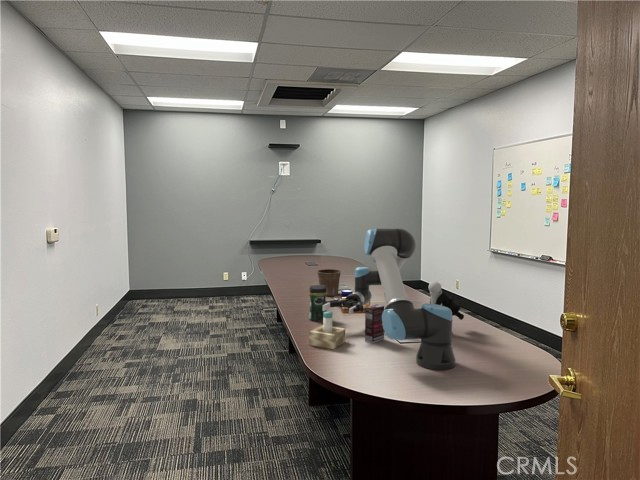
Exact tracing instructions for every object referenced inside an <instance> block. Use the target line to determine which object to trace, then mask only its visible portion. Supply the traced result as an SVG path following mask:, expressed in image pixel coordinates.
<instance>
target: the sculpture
mask: <svg viewBox="0 0 640 480" xmlns="http://www.w3.org/2000/svg"><path fill="white" fill-rule="evenodd" d="M428 291H429V293H430V297H429V304H437V305H441V306H445V307H447V308H449V309H450V310H451V311H452V317H453V316H455V317H457V318H458V319H459V320H462V321H463V319H465V315H464V314H463V313H461V312H460V309H461V305H460V304H459V303H456V302H455V301H454V299H453V297H452V296H448V295H447V293H446V292H445V291H443V290H442V284H441V283H440V282H438V281H431V282H430V283H429V284H428Z"/></svg>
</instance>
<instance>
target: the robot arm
mask: <svg viewBox="0 0 640 480" xmlns="http://www.w3.org/2000/svg"><path fill="white" fill-rule="evenodd" d="M364 238H365V239H364V253H365V255H366V256H370V259H371V260H372V261H373V262H374V263H376V268H377V270H370V268H369V267H368V266H358V267H355V270H354V292H353V293H350V294H348V295H347V296H346V297H345V298H344V299H340V298H337V299H332V300H326V301H325V302H324V305H323V311H325V310H326V311H328V310H329V309H331V308H347V309H348V315H349V316H351V315H353V314H354V313H359V312H361V313H362V312H364V305H366V304H368V303H369V302H370V301H371V299H372V292H371V291H370V286H381V287H382V292H383V294H384V299H385V303H386V305H385V306H384V311H383V313H382V322H383V323H382V325H383V329H384V334H385V335H386V337H387V338H388V339H390V340H392V341H396V340H398V341H403V340H419V339H420V345H419V347H418V350H417V353H416V356H415V362H416V364H417V365H418V366H421V367H422V368H425V369H429V370H436V371H444V370H450V369H451V370H452V369H453V368H455V366H456V357H455V354H454V350H453V346H452V337H453V336H452V335H453V334H452V333H453V316H452V311H451V310H450V309H449V308H447V307H445V306H441V305H442V304H441V305H437V304H430V303H423V304H422V305H421V306H420V308H415V306H414V303H413V302H412V301H411V300H410V299H408V295H407V293H406V289H405V286H404V282H403V279H402V275H401V272H400V270H401V268H402V266H403V265H404V264H405V262H406V261H407V260H408V259H410V258H411V257H412V256H413V255H414V253H415V251H416V248H417V247H416V244H417V243H416V240H415V237H414V236H413V234H411V233H410V231H408V230H406V229H403V228H378V227H377V228H370V229H368V230H367V231H366V234H365V237H364Z"/></svg>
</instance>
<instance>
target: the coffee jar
mask: <svg viewBox="0 0 640 480" xmlns="http://www.w3.org/2000/svg"><path fill="white" fill-rule="evenodd" d="M308 294H309V313H308V318H309V321H319V322H320V321H323V312H328V310H325V311H323V305H324V302H325V301H327V300H326V299H327V298H326V297H327V296H326V295H327V290H326V286H325V285H319V284H311V285H309V289H308Z"/></svg>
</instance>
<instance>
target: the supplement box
mask: <svg viewBox="0 0 640 480" xmlns="http://www.w3.org/2000/svg"><path fill="white" fill-rule="evenodd" d="M364 309H365V311H364V314H365V316H364V317H365V322H364V329H365V330H364V331H365V332H364V341H365V342H367V343H370V344H374V343H377V342H380V341H383V340H385V331H384V329H383V325H382V323H383V322H382V313H383V311H384V309H385V305H383V304H382V305H381V304H374V305H370V306H366V307H365V308H364Z"/></svg>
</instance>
